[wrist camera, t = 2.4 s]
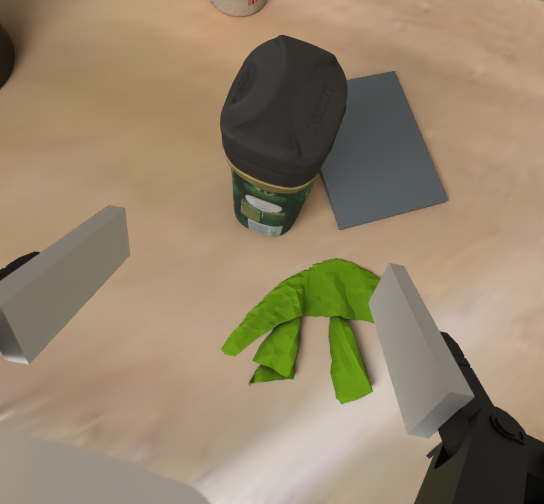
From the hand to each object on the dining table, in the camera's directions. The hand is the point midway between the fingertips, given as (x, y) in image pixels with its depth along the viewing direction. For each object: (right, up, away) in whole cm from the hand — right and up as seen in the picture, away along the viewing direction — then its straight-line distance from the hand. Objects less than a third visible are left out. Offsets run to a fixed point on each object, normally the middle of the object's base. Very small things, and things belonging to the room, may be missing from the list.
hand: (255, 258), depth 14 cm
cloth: (+5, -10, +19) cm, 22 cm away
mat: (+14, +14, +23) cm, 31 cm away
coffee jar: (+1, +7, +21) cm, 22 cm away
